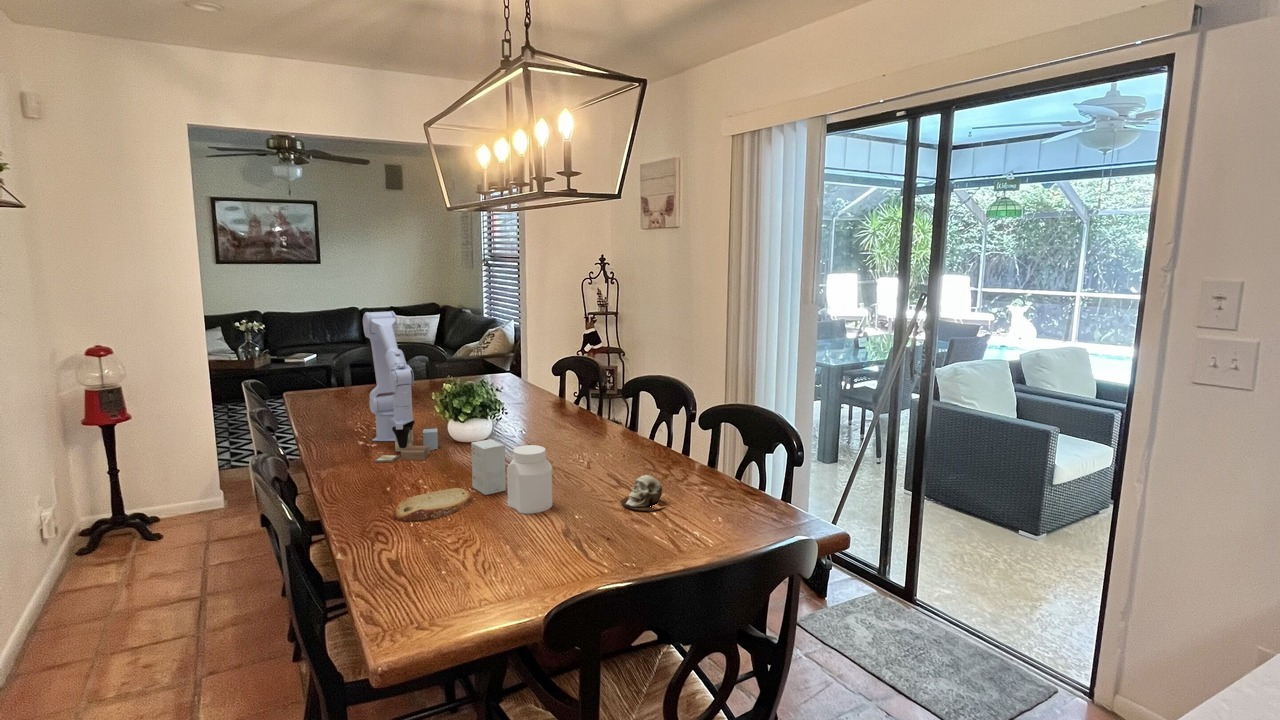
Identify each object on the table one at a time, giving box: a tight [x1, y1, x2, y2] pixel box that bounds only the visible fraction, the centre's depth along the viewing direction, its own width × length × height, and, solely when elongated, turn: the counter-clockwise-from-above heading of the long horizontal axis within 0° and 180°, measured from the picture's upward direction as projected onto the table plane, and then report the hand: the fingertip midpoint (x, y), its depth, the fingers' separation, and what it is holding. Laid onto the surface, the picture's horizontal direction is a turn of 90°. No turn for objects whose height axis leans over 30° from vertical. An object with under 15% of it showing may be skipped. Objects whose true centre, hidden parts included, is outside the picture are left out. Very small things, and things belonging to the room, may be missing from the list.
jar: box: [506, 444, 553, 515], centre depth 175 cm, size 12×10×15 cm
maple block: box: [394, 429, 415, 452], centre depth 223 cm, size 4×4×6 cm
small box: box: [470, 438, 507, 496], centre depth 187 cm, size 8×6×13 cm
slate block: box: [422, 428, 439, 451], centre depth 225 cm, size 4×4×6 cm
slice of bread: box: [392, 487, 473, 523], centre depth 174 cm, size 18×18×4 cm
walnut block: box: [400, 445, 431, 461], centre depth 215 cm, size 7×7×3 cm
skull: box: [620, 474, 663, 512], centre depth 178 cm, size 12×10×10 cm
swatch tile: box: [373, 454, 401, 463], centre depth 212 cm, size 6×6×1 cm
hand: (404, 445), depth 223 cm, fingers closed on maple block, 5 cm apart
